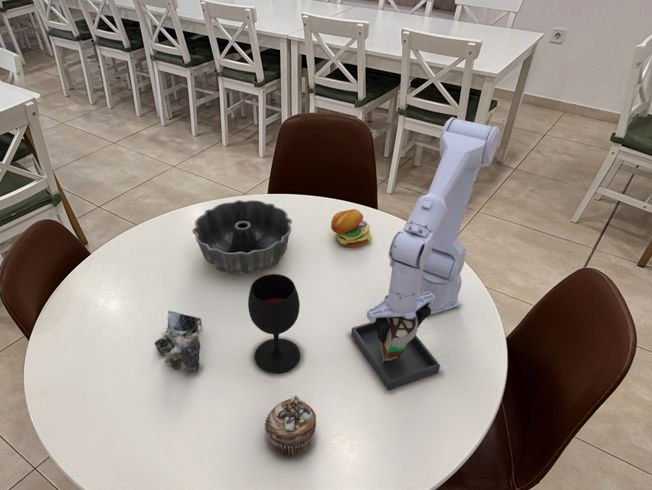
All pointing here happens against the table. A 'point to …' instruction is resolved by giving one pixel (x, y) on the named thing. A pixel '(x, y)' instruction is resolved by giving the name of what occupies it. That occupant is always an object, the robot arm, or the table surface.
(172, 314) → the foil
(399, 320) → the food container
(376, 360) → the dark gray tray
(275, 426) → the cupcake
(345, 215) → the cheeseburger
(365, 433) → the table surface
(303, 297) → the table surface
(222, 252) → the bundt pan
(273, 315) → the wine glass
